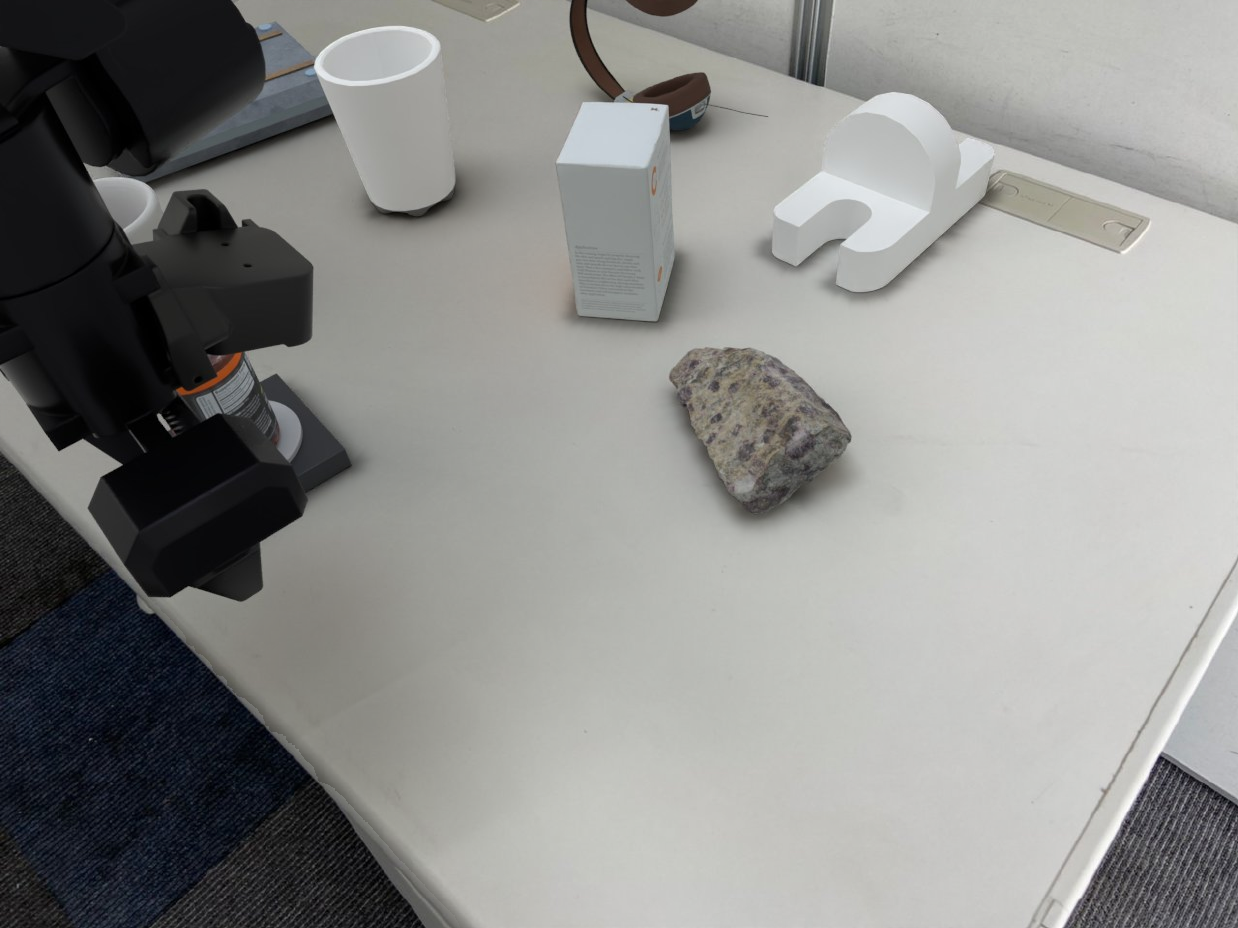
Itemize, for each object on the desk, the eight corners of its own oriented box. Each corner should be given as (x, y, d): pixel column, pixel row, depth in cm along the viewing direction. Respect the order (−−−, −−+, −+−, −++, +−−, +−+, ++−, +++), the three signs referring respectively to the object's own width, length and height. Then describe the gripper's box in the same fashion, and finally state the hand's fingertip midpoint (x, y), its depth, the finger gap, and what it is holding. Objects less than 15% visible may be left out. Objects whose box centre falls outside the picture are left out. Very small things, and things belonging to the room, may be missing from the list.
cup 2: (363, 238, 82) (317, 94, 72) (353, 178, 88) (309, 39, 78) (479, 213, 83) (449, 68, 73) (461, 155, 89) (431, 16, 80)
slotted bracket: (870, 299, 72) (887, 182, 64) (764, 252, 76) (769, 138, 69) (992, 188, 80) (1020, 73, 72) (890, 152, 85) (907, 40, 77)
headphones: (791, 134, 86) (610, 88, 98) (786, -50, 75) (584, -76, 87) (748, 166, 83) (567, 115, 95) (736, -20, 72) (534, -51, 84)
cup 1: (64, 286, 80) (1, 186, 73) (176, 244, 83) (126, 143, 76) (98, 371, 73) (32, 268, 66) (220, 321, 75) (169, 217, 68)
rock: (765, 539, 58) (884, 441, 60) (741, 471, 54) (870, 370, 56) (641, 450, 67) (748, 369, 70) (614, 387, 63) (728, 304, 66)
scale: (211, 548, 60) (199, 528, 59) (151, 460, 66) (138, 440, 64) (352, 465, 64) (343, 444, 63) (283, 389, 70) (274, 368, 68)
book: (135, 196, 89) (110, 146, 85) (91, 125, 98) (66, 77, 94) (347, 117, 95) (332, 68, 92) (287, 58, 105) (271, 11, 101)
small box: (597, 252, 78) (581, 99, 68) (676, 257, 77) (671, 102, 67) (574, 317, 73) (553, 162, 63) (658, 324, 72) (649, 166, 62)
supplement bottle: (172, 455, 63) (88, 320, 55) (244, 401, 66) (176, 265, 58) (228, 494, 61) (150, 359, 52) (302, 436, 64) (239, 299, 55)
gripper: (375, 259, 31) (466, 552, 43) (145, 73, 41) (270, 352, 53) (26, 438, 27) (234, 711, 38) (-136, 181, 37) (68, 459, 48)
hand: (205, 532), depth 44 cm, fingers open, 9 cm apart
